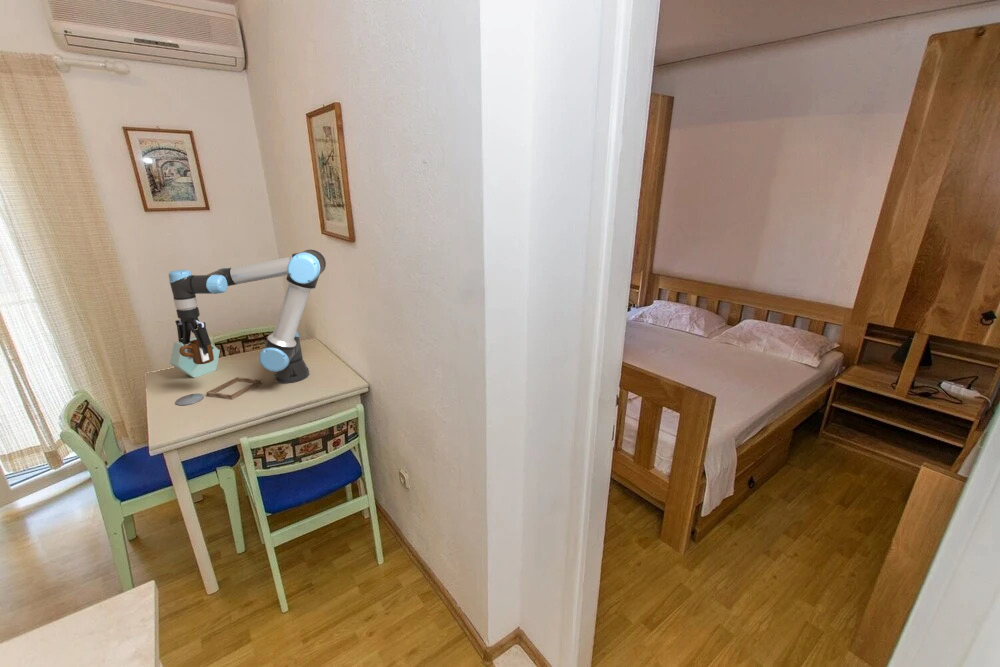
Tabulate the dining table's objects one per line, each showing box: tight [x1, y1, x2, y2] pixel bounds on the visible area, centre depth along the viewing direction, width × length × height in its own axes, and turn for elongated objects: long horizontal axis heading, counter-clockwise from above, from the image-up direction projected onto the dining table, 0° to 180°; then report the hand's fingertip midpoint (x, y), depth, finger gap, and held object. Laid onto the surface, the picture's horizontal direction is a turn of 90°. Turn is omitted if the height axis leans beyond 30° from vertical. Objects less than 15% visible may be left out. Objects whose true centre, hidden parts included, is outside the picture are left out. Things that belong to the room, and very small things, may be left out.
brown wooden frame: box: [205, 376, 262, 400], centre depth 197 cm, size 14×17×2 cm
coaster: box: [175, 393, 204, 407], centre depth 188 cm, size 10×10×1 cm
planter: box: [169, 336, 221, 378], centre depth 213 cm, size 17×8×21 cm
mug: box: [179, 339, 214, 364], centre depth 186 cm, size 12×8×9 cm, turn 149°
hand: (198, 359), depth 186 cm, fingers closed on mug, 7 cm apart
